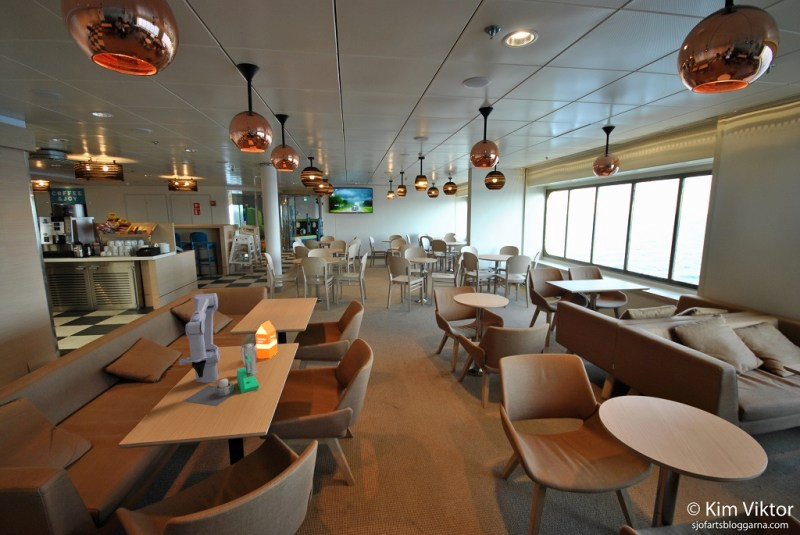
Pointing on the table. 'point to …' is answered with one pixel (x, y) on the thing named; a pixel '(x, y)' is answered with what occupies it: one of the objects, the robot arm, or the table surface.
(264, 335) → the orange juice
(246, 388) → the camera mount
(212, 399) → the mat
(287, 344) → the table surface
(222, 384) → the plug cap
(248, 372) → the beer glass
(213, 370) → the robot arm
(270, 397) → the table surface
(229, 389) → the sleeve
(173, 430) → the table surface
